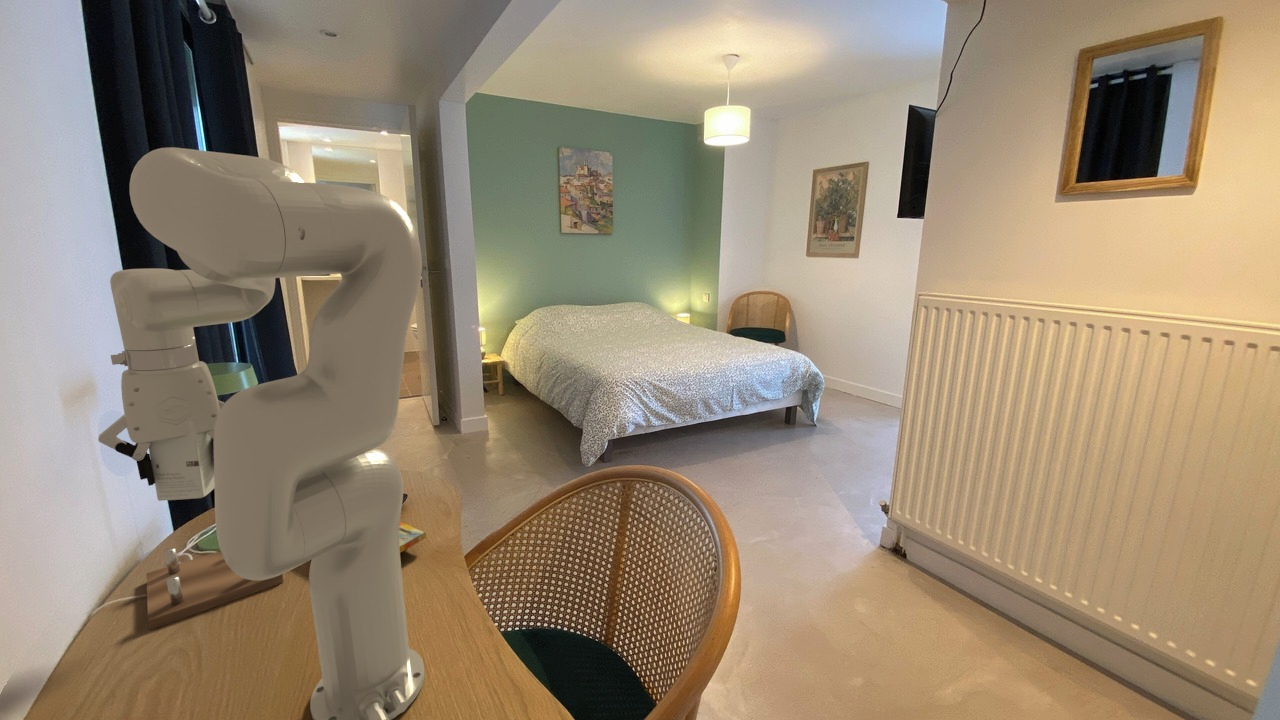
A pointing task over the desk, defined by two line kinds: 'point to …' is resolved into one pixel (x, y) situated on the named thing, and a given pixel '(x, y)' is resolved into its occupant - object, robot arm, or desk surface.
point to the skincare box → (183, 466)
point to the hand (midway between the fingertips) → (186, 473)
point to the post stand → (195, 587)
